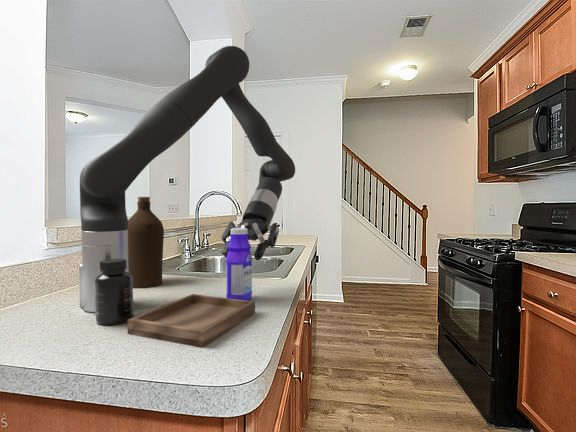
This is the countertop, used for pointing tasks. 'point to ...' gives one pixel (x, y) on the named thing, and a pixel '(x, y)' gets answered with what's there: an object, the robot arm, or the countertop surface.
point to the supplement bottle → (113, 293)
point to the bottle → (239, 266)
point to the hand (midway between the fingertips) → (240, 257)
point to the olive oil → (145, 246)
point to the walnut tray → (192, 319)
